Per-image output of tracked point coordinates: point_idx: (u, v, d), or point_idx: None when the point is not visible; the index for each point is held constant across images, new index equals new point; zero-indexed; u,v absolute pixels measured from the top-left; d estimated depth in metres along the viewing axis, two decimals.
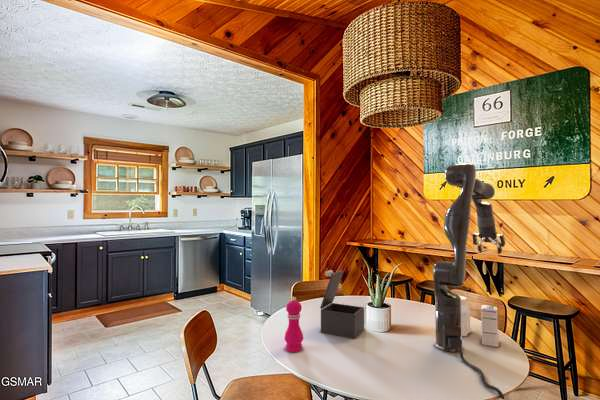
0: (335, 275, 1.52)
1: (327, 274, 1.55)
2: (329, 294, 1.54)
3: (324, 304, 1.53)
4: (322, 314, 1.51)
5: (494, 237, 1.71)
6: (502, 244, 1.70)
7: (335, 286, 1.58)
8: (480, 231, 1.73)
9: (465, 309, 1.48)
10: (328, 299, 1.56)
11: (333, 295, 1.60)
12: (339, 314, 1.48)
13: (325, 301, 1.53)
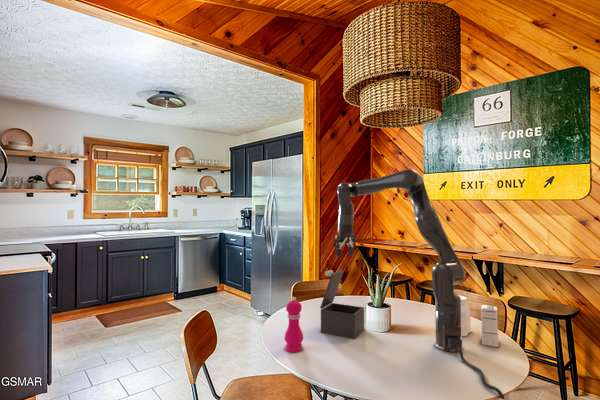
0: (335, 275, 1.52)
1: (327, 274, 1.55)
2: (329, 294, 1.54)
3: (324, 304, 1.53)
4: (322, 314, 1.51)
5: (351, 237, 1.73)
6: (355, 244, 1.75)
7: (335, 286, 1.58)
8: (347, 230, 1.68)
9: (465, 309, 1.48)
10: (328, 299, 1.56)
11: (333, 295, 1.60)
12: (339, 314, 1.48)
13: (325, 301, 1.53)
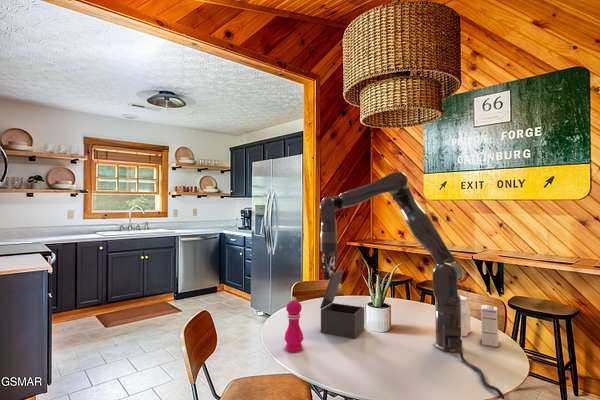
0: (335, 275, 1.52)
1: None
2: (329, 294, 1.54)
3: (324, 304, 1.53)
4: (322, 314, 1.51)
5: None
6: (335, 265, 1.61)
7: (335, 286, 1.58)
8: (333, 249, 1.54)
9: (465, 309, 1.48)
10: (328, 299, 1.56)
11: (333, 295, 1.60)
12: (339, 314, 1.48)
13: (325, 301, 1.53)
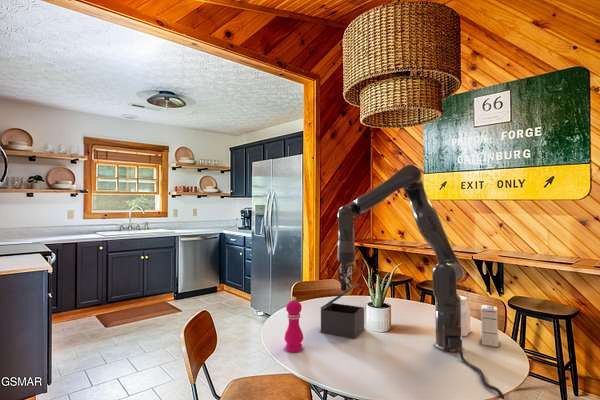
0: (350, 290, 1.49)
1: None
2: None
3: (325, 306, 1.53)
4: (322, 314, 1.51)
5: None
6: (352, 275, 1.57)
7: (343, 294, 1.56)
8: (350, 259, 1.50)
9: (465, 309, 1.48)
10: None
11: None
12: (339, 314, 1.48)
13: (328, 304, 1.52)
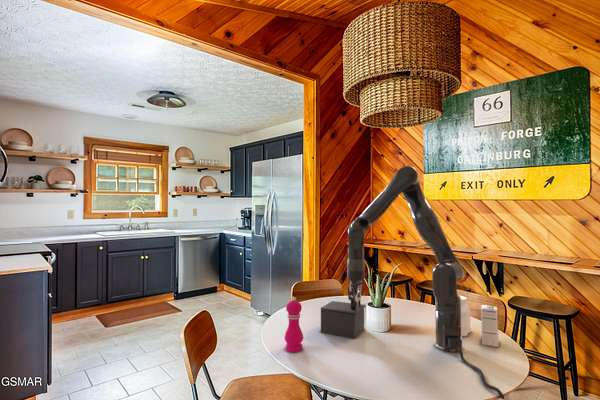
0: None
1: None
2: None
3: None
4: (322, 314, 1.51)
5: (360, 284, 1.53)
6: (362, 292, 1.55)
7: None
8: (360, 277, 1.48)
9: (465, 309, 1.48)
10: None
11: None
12: (339, 314, 1.48)
13: None
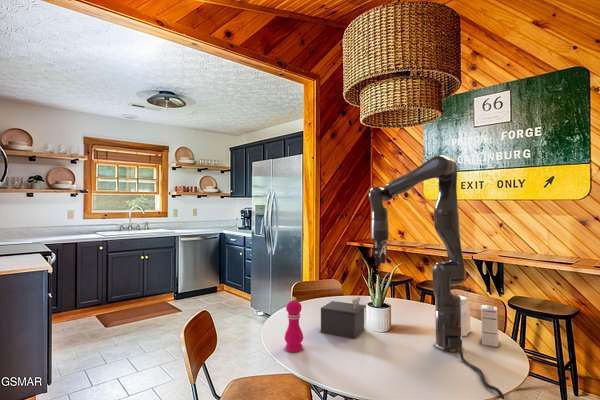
0: None
1: (354, 302, 1.49)
2: None
3: None
4: (322, 314, 1.51)
5: (384, 244, 1.63)
6: (386, 251, 1.66)
7: None
8: (385, 237, 1.58)
9: (465, 309, 1.48)
10: None
11: None
12: (339, 314, 1.48)
13: None
